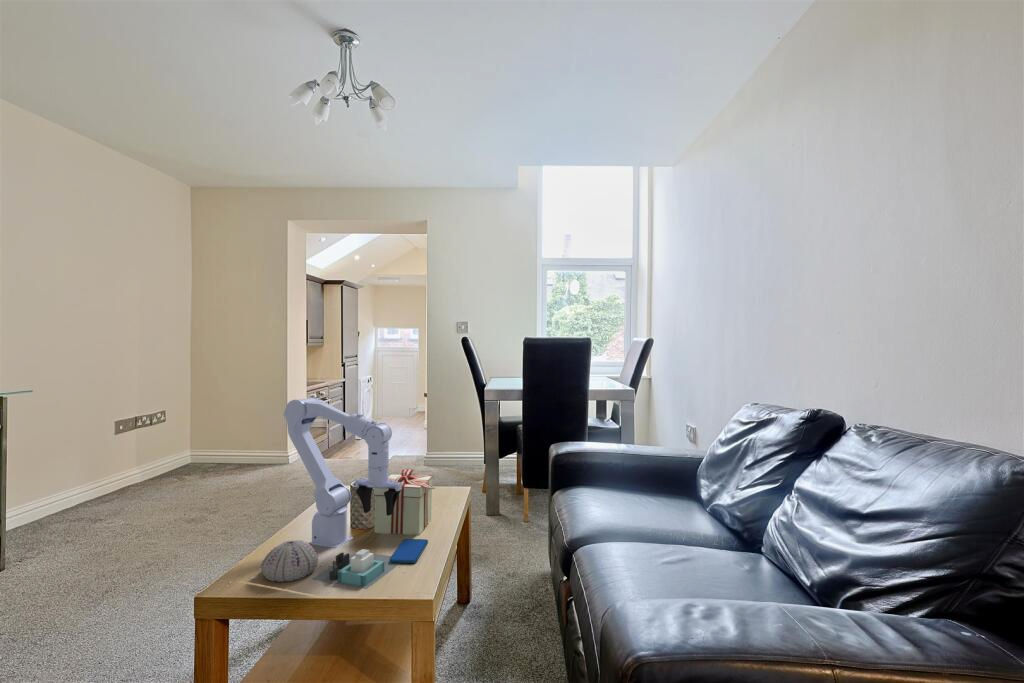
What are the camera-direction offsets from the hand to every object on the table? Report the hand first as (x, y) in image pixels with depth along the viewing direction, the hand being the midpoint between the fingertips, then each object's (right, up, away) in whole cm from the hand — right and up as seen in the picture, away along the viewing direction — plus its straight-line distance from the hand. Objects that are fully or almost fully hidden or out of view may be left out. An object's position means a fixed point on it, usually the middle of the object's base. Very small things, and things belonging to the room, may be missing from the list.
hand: (378, 513), depth 144 cm
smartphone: (+10, -9, -6) cm, 15 cm away
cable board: (0, -9, -16) cm, 18 cm away
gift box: (+6, -10, +16) cm, 20 cm away
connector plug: (+1, -9, -20) cm, 22 cm away
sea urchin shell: (-18, -10, -18) cm, 27 cm away
